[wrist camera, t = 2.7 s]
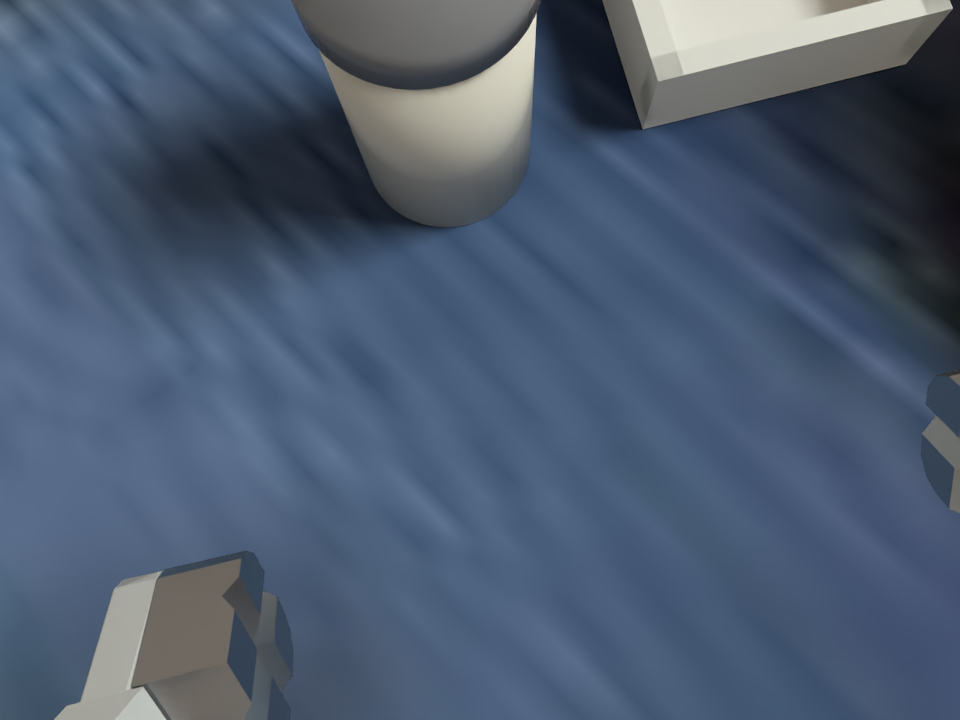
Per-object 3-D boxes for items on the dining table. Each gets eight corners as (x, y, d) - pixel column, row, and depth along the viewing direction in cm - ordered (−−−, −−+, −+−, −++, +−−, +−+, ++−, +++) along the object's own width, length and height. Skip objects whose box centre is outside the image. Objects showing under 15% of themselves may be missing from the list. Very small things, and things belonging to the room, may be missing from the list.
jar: (382, 250, 28) (305, 84, 17) (345, 93, 29) (251, -151, 18) (554, 207, 28) (579, 16, 17) (510, 52, 29) (509, -214, 19)
